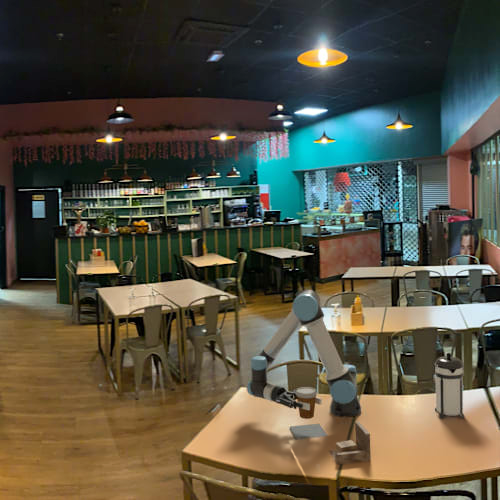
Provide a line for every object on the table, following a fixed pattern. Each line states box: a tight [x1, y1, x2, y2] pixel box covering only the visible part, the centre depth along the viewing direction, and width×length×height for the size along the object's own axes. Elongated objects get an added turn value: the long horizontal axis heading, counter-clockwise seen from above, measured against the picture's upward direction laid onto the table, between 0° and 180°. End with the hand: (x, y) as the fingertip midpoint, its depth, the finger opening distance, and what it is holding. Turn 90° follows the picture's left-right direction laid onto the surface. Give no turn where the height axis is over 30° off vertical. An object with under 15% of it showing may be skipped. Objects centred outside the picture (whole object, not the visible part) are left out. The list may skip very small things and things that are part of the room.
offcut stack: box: [334, 439, 358, 453], centre depth 222 cm, size 8×6×5 cm
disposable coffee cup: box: [296, 386, 318, 420], centre depth 248 cm, size 10×10×12 cm
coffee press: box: [434, 352, 465, 420], centre depth 262 cm, size 17×16×30 cm
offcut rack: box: [328, 421, 372, 465], centre depth 222 cm, size 14×13×12 cm
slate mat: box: [289, 423, 328, 440], centre depth 249 cm, size 14×14×1 cm
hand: (315, 404), depth 244 cm, fingers closed on disposable coffee cup, 8 cm apart
